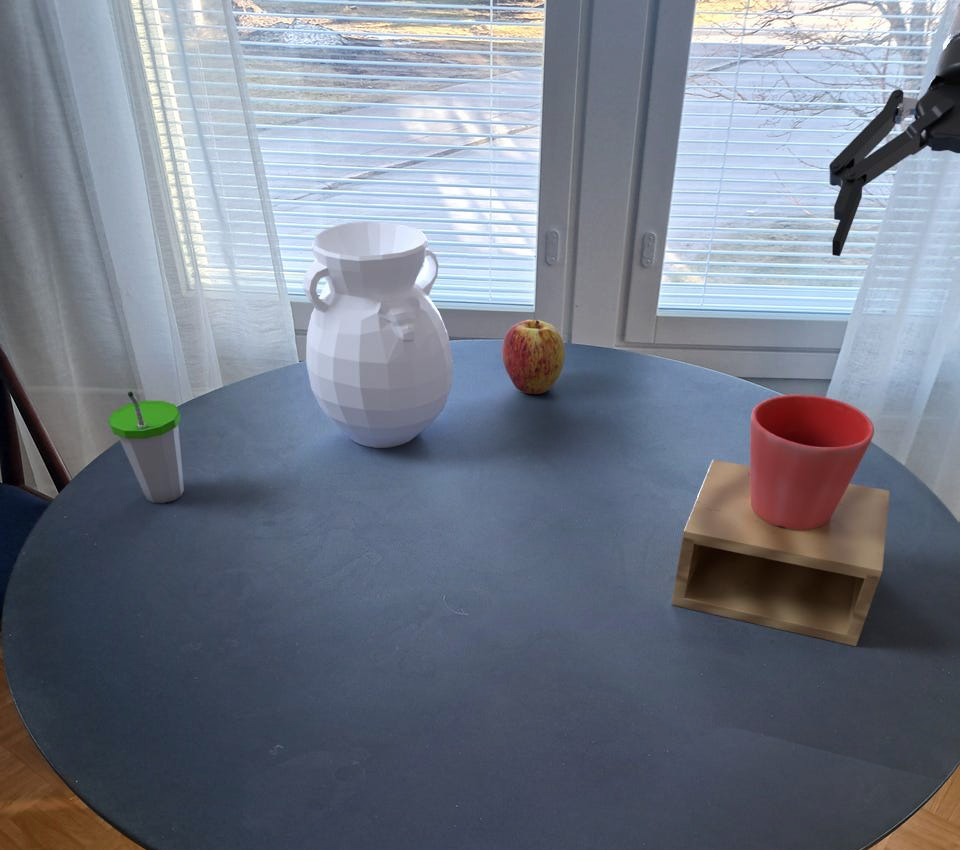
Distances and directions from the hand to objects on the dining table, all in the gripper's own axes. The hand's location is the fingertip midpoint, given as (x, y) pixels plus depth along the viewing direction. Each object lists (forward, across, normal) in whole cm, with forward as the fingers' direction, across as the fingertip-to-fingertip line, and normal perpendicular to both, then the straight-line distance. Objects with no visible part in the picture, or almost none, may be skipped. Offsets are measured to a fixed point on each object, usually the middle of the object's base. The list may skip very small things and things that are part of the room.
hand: (906, 259), depth 88 cm
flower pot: (+27, +2, 0) cm, 27 cm away
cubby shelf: (+33, +2, -6) cm, 34 cm away
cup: (+46, +71, +6) cm, 85 cm away
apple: (+12, +46, -28) cm, 55 cm away
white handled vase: (+28, +57, -12) cm, 64 cm away
